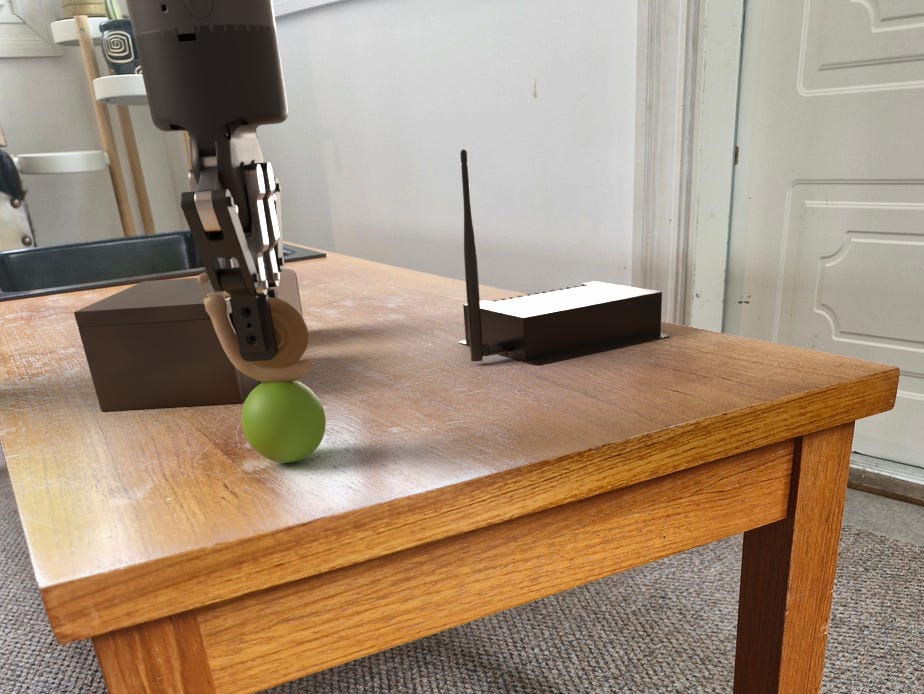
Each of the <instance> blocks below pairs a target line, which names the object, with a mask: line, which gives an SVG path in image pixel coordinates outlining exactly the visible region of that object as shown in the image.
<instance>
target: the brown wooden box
mask: <svg viewBox="0 0 924 694" xmlns="http://www.w3.org/2000/svg"><path fill="white" fill-rule="evenodd" d="M206 285H207V290H208V293H213V292H215V291H214V289H213V287H212V285H211V282H210V279H209V281H208V282H206ZM203 288H204V292H205V294H206V295H208V294H207V290H206V286H205V283H204V284H203ZM204 292H203V289H202V284H200V283H199V282H198V277H188V278H186V277H185V278H172V279H156V280H143V281H141V282H139V283H137V284H134V285H132V286H130V287H127V288H125V289H123V290H121V291H118V292H116V293H114V294H112V295H110V296H106V297H105V298H103V299H100V300H98V301H96V302H94V303H91V304H89V305H86V306H85V307H82V308H80V309H77V310H75V311H74V312H73V315H74V318H75V322H76V326H77V328H78V333H79V336H80V340H81V343H82V348H83V350H84V354H85V358H86V361H87V365H88V369H89V373H90V376H91V379H92V384H93V387H94V391H95V395H96V397H97V401H98V404H99V409H100V412H115V411H129V410H130V411H131V410H132V411H133V410H147V409H150V410H151V409H163V408H164V409H165V408H167V409H168V408H182V407H199V406H215V405H232V404H242V403H243V402H245V400H246V398H247V397H248V395H249V394H250V392H251V391H252V390H253V389H254V388H255V387H257V386H258V385H260V384H261V383H262V382H261V381H259V380H256V379H254V378H251V377H249V376H247V375H245V374H243V373H242V372H240V371H239V370H238V369H237V368H236V367H235V366H234V365H233V363H232V362H231V361H230V359H229V358H228V356H227V355H226V353H225V351H224V349H223V347H222V345H221V343H220V341H219V338H218V336H217V334H216V331H215V329H214V326H213V323H212V320H211V318H210V316H209V314H208V313H207V312H206V309H205V305H204V303H203V302H204V298H205V296H204ZM215 293H219V294H221V295H222V296H223V297H224V298H225V296H224V294H223V292H215ZM225 299H226V301H227V314H228V317H229V319H230V321H231V324H232V326H233V328H234V330H235V325H234V320H233V314H232V309H231V304H230V299H231V298H225ZM235 332H236V330H235Z"/></svg>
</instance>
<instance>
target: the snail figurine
mask: <svg viewBox="0 0 924 694" xmlns="http://www.w3.org/2000/svg"><path fill="white" fill-rule="evenodd" d="M197 278H198V282H199V283H200V284H202V289H203V292H204V288H203V284H204V283H205V286H206V290H207V285H206V282H208V281H209V277H208V274H207V272H202V273H201V274H198V276H197ZM207 294H208V295H206V294H205V292H204V296H205V298H204V302H203V303H204V305H205V309H206V312H207V313H208V314H209V316H210V318H211V320H212V323H213V326H214V329H215V331H216V334H217V336H218V338H219V341H220V343H221V345H222V347H223V349H224V351H225V353H226V355H227V356H228V358H229V359H230V361H231V362H232V363H233V365H234V366H235V367H236V368H237V369H238V370H239V371H240V372H242V373H243V374H245V375H247V376H249V377H251V378H254V379H256V380H259V381H261V382H260V383H259V384H258V386H257V387H255V388H254V389H253V390H252V391H251V392H250V394H249V395H248V396H247V397H246V398H245V399H244V401H243V402H244V403H243V405H242V409H241V416H240V420H241V427H242V432H243V434H244V436H245V437H244V438H245V439H246V440H247V442H248V444H249V445H250V447H251V448H252V449H253V450H254V451H255V452H256V453H258V454H259V455H260V456H262V457H263V458H265V459H267V460H270V461H272V462H276V463H282V464H291V463H296V462H300V461H302V460H304V459H306V458H308V457H309V456H310V455H312V454H313V453H314V452H315V451H316V450H317V448H318V447H319V446H320V444H321V443H322V440H323V438H324V435H325V433H326V426H327V420H326V419H327V417H326V413H325V408H324V406H323V404H322V401H321V400H320V398H319V396H317V394H316V393H315V392H314V391H313V390H312V389H311V388H310V387H309V386H307V385H306V384H304V383H302V382H300V379H302V378H303V377H304V376H305V375H307V373H308V372H309V371H310V370H311V368H312V366H314V365H313V364H314V361H313V360H312V359H310V358H308V359H303V360H300V359H301V358H302V357H303V356H304V354H305V352H306V350H307V348H308V345H309V330H308V326H307V323H306V320H305V318H304V316H303V317H302V315H301V314H300V312H299V311H298V310H297V309H296V308H295V307H294V306H292V305H291V304H290V303H288V302H286V301H284V300H282V299H278V298H271V297H269V303H270V308H271V314H272V320H273V326H274V331H275V337H276V343H277V349H278V352H277V355H276V356H275V357H274V358H273V359H272V360H266V361H250V362H249V361H245V360H244V359H243V358H242V357H241V355H240V350H239V345H238V340H237V335H236V332H235V330H234V328H233V326H232V324H231V321H230V319H229V317H228V314H227V301H226V299H225V298H224V297H223V296H222V295H221V294H219V293H215V292H213V293H208V290H207Z"/></svg>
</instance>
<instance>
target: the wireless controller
mask: <svg viewBox="0 0 924 694" xmlns="http://www.w3.org/2000/svg"><path fill="white" fill-rule="evenodd" d="M468 162H469V160H468V151H467V150H466V149H463V148H462V149H461V150H460V164H461V165H460V167H461V183H462V199H463V201H462V202H463V261H464V278H465V288H466V289H465V290H466V303H463V305H462V308H463V322H464V323H463V324H464V337H465V340H460V341H459V344H461V345H465V346H468V347H469V349H470V361H471V362H481V361H483V359H484V358H483V357H490V356H496V355H499V356H503V357H506V358H509V359H512V360H516V361H520V362H523V363H527V364H531V365H534V366H541V365H545V364H550V363H556V362H560V361H564V360H569V359H574V358H578V357H583V356H588V355H592V354H596V353H597V354H598V353H601V352H606V351H610V350H615V349H620V348H624V347H628V346H629V347H630V346H634V345H638V344H643V343H647V342H652V341H657V340H662V339H666V338H670V337H671V336H672V335H671V334H668V333H664V332H662V304H663V291H661V290H654V289H647V288H640V287H635V286H628V285H621V284H615V283H607V282H602V281H595V280H593V281H589V282H583V283H581V285H580V286H578V285H573V287H568V286H567V287H566V289H565V288H559V289H558V290H557V289H550V290H549V291H542V293H539V292H534V294H530V293H527V294H526V296H525V295H517V296H516V297H511V296H510V297H509V299H507V298H501V300H497V299H493V301H490V300H486V299H485V300H480V299H481V298H480V283H479V282H480V281H479V267H478V254H477V245H476V238H475V229H474V223H473V215H472V205H471V204H472V203H471V191H470V190H471V189H470V174H469V164H468Z"/></svg>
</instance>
